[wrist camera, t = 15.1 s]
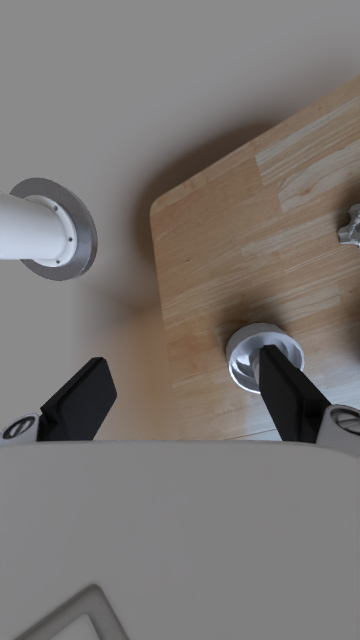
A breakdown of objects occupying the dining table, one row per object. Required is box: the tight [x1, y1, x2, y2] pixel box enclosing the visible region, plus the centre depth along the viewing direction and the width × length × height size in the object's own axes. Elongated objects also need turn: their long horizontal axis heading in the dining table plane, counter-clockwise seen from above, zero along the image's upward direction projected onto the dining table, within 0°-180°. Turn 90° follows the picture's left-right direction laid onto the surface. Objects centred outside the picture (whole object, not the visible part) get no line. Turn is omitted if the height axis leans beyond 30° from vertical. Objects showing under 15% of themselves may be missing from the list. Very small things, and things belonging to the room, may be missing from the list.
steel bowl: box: [226, 323, 305, 393], centre depth 37 cm, size 14×14×6 cm
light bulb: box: [249, 348, 260, 385], centre depth 33 cm, size 6×6×12 cm
